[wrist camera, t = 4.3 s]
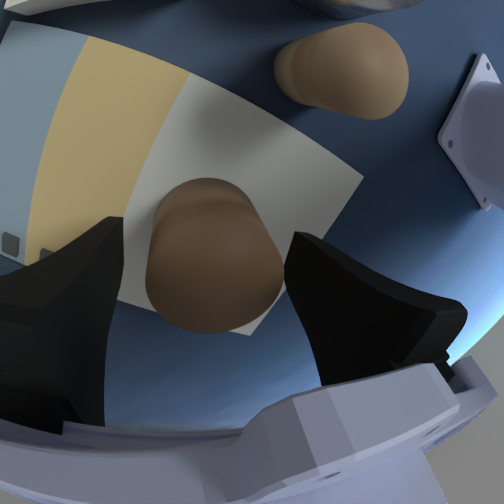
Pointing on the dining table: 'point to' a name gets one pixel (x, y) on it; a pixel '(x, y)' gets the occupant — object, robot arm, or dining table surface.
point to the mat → (140, 150)
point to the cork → (344, 71)
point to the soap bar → (41, 5)
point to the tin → (352, 7)
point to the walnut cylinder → (211, 258)
